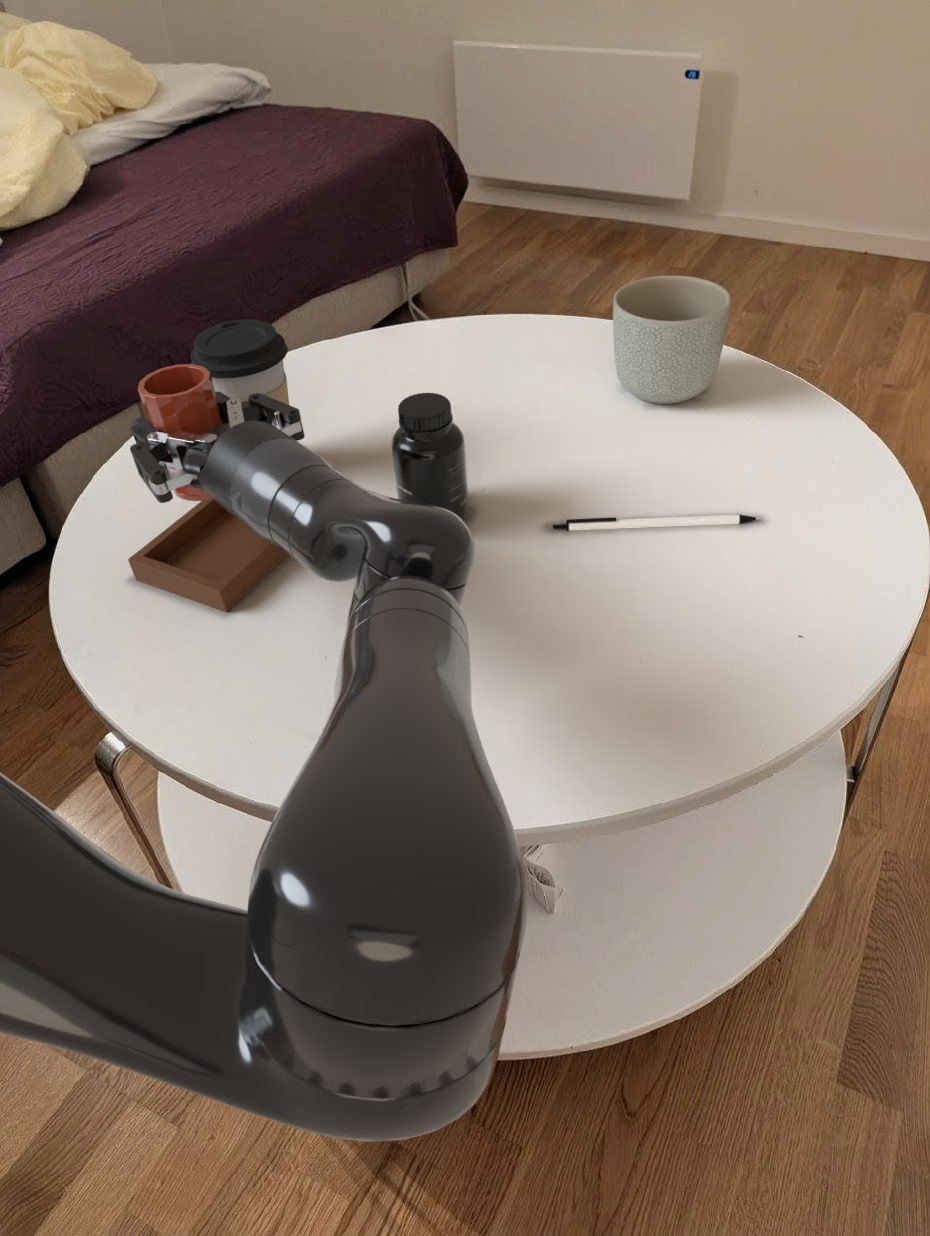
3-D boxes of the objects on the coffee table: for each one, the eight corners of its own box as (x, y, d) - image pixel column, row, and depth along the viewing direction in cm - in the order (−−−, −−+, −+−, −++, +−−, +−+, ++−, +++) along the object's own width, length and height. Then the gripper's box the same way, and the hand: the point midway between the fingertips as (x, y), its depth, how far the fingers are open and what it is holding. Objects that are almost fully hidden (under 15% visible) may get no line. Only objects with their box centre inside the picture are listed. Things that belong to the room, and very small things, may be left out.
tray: (226, 612, 81) (219, 591, 80) (135, 580, 86) (127, 559, 84) (312, 532, 90) (308, 511, 88) (225, 506, 94) (219, 486, 92)
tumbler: (209, 507, 79) (176, 402, 73) (158, 492, 82) (122, 390, 75) (252, 473, 83) (224, 370, 76) (202, 459, 85) (171, 359, 79)
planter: (587, 392, 107) (589, 301, 100) (655, 355, 113) (662, 266, 105) (673, 428, 99) (682, 332, 92) (741, 386, 105) (754, 293, 98)
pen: (552, 527, 88) (552, 518, 87) (755, 519, 87) (757, 509, 86) (553, 533, 87) (553, 523, 86) (757, 525, 86) (759, 515, 85)
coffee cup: (277, 436, 104) (247, 308, 94) (328, 465, 99) (303, 332, 89) (206, 471, 99) (167, 340, 89) (256, 504, 94) (220, 368, 84)
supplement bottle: (389, 528, 89) (372, 418, 81) (416, 489, 94) (403, 382, 86) (454, 539, 87) (444, 428, 79) (479, 500, 92) (472, 390, 84)
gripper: (206, 568, 69) (111, 484, 79) (360, 489, 75) (254, 420, 85) (178, 484, 64) (80, 405, 74) (346, 407, 70) (235, 344, 81)
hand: (174, 413), depth 80 cm, fingers closed on tumbler, 6 cm apart
